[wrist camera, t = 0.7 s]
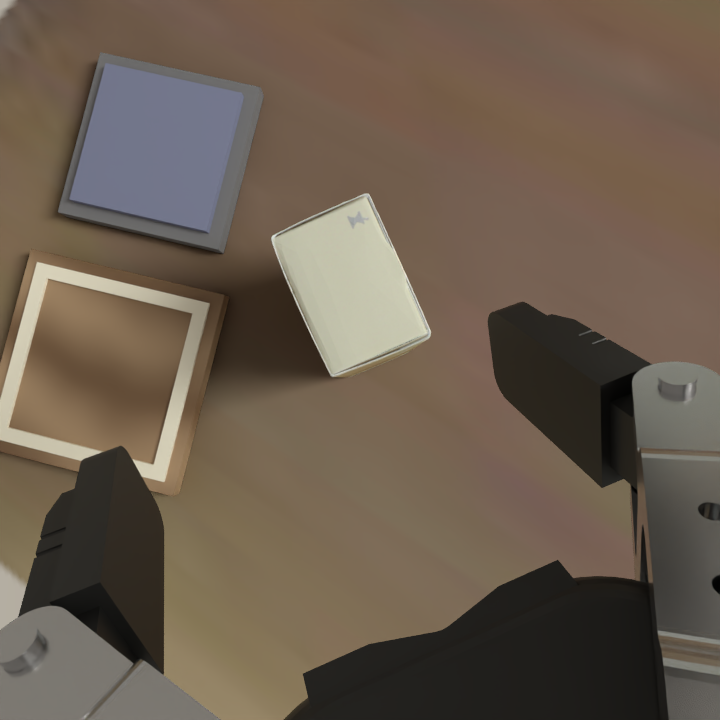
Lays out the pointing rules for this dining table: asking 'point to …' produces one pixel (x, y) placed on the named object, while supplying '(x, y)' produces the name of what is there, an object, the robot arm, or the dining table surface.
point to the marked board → (106, 367)
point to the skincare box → (350, 287)
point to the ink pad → (161, 152)
